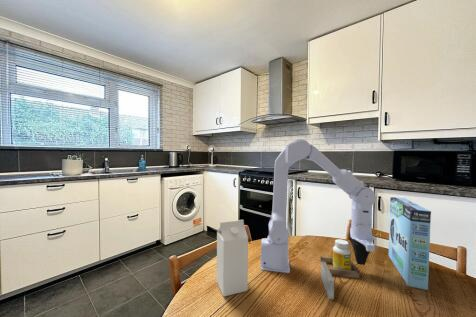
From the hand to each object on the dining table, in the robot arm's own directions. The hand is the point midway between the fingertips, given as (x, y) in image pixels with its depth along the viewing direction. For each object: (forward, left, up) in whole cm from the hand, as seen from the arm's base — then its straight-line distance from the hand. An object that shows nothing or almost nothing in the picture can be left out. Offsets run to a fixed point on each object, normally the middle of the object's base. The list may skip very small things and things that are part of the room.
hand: (360, 263), depth 66 cm
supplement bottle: (-6, 0, -3) cm, 7 cm away
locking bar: (-13, -11, -3) cm, 17 cm away
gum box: (+15, +4, -3) cm, 16 cm away
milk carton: (-40, -16, -3) cm, 43 cm away
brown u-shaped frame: (-6, 0, -3) cm, 6 cm away
